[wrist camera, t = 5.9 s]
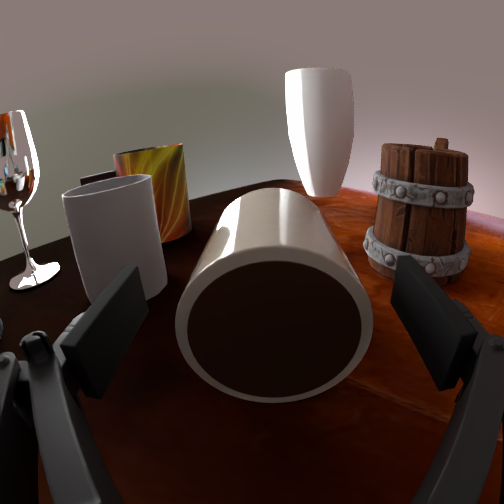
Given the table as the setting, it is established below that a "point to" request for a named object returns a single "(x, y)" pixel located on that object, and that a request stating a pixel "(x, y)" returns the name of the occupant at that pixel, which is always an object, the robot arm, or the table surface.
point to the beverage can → (1, 328)
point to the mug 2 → (421, 210)
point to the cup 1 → (115, 233)
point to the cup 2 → (320, 126)
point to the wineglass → (20, 190)
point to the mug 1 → (158, 184)
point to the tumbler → (273, 303)
